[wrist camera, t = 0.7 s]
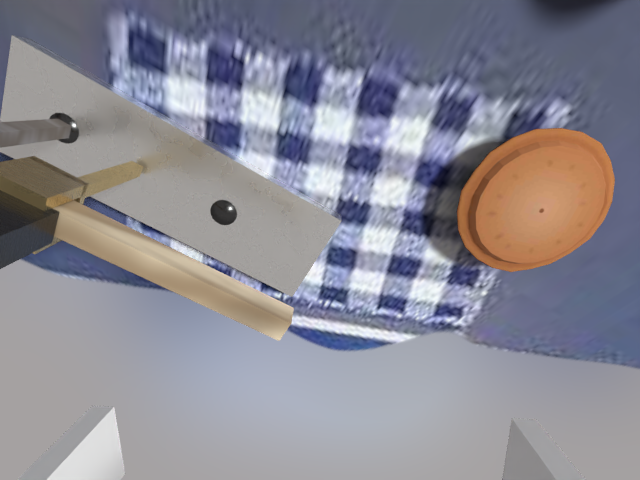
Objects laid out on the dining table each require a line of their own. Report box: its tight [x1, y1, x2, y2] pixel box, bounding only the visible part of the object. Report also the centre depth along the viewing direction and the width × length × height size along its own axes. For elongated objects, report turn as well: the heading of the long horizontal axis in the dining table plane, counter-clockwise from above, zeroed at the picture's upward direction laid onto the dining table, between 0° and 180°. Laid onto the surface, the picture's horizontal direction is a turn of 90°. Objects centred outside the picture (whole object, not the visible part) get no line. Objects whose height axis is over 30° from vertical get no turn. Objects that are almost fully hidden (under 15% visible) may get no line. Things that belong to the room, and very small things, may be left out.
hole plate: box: [0, 35, 342, 297], centre depth 35 cm, size 12×36×2 cm, turn 60°
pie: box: [457, 128, 615, 272], centre depth 34 cm, size 16×16×5 cm
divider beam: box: [0, 119, 294, 341], centre depth 28 cm, size 2×32×14 cm, turn 60°
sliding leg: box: [0, 156, 143, 269], centre depth 23 cm, size 5×5×23 cm
